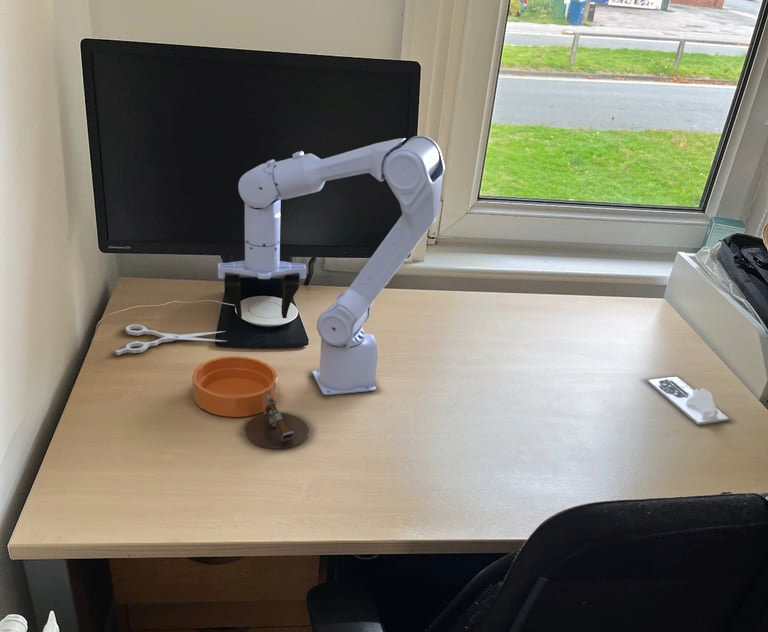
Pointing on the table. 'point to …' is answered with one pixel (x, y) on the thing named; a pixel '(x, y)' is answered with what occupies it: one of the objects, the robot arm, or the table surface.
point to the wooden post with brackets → (276, 419)
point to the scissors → (164, 338)
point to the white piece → (689, 400)
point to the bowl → (234, 386)
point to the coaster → (276, 432)
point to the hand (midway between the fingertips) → (261, 315)
